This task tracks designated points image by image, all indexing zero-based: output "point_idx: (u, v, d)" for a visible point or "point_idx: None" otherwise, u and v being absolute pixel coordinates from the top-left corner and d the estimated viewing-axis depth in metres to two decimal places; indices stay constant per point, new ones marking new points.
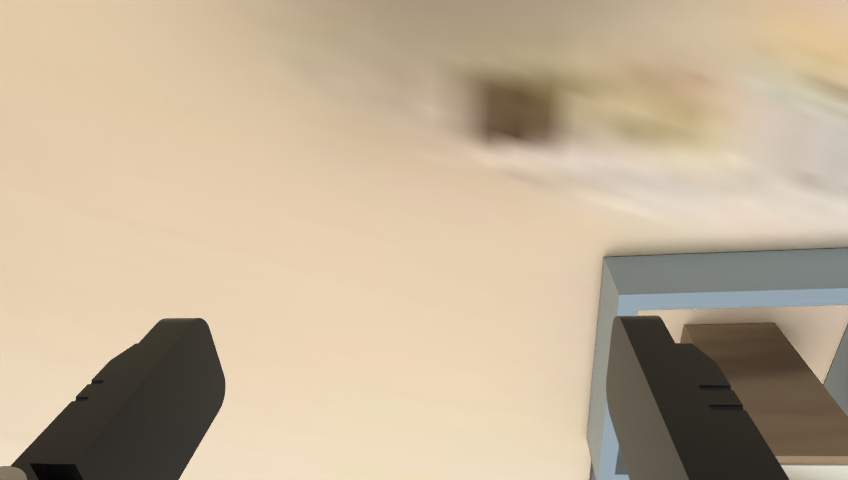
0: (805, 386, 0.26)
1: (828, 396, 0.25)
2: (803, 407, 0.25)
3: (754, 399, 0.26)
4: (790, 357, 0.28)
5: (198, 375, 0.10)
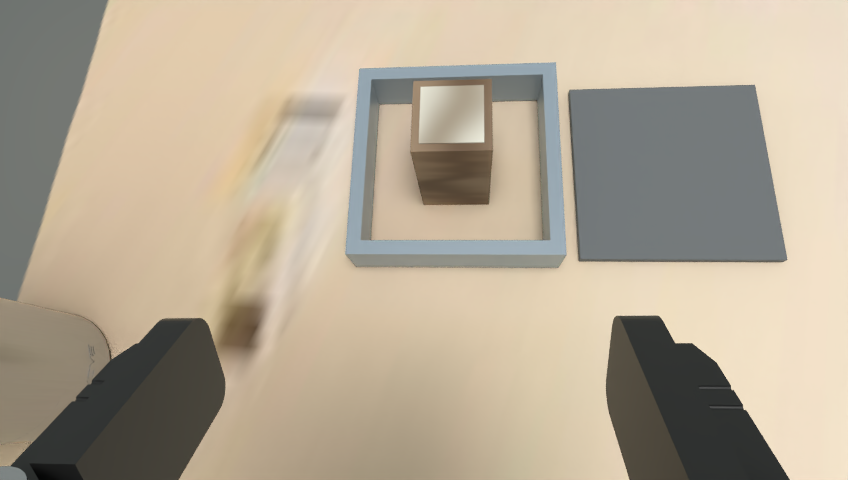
0: None
1: None
2: None
3: None
4: None
5: (198, 374, 0.10)
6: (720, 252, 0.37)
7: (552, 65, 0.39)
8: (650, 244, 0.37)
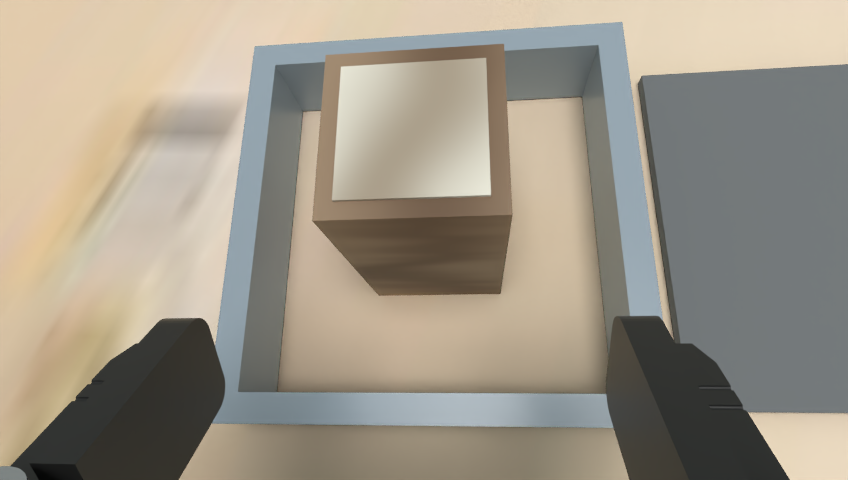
0: None
1: None
2: None
3: None
4: None
5: (198, 375, 0.10)
6: None
7: (617, 28, 0.20)
8: (832, 378, 0.18)
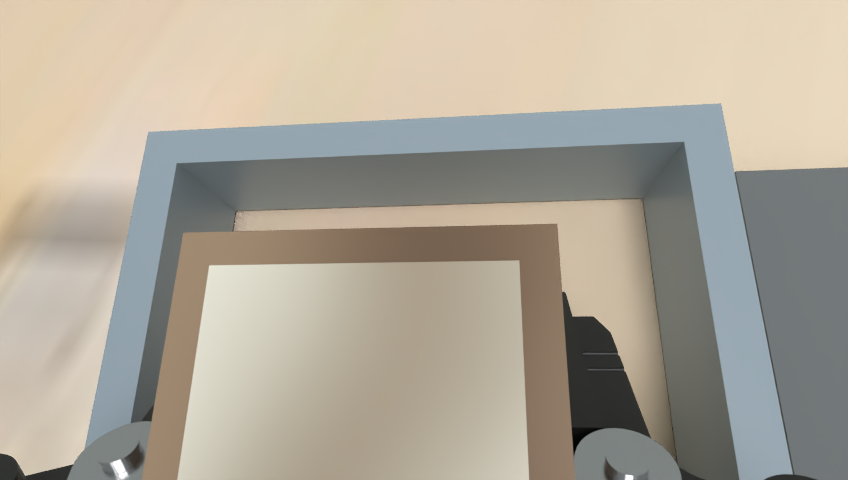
0: None
1: None
2: None
3: None
4: None
5: None
6: None
7: (712, 114, 0.13)
8: None
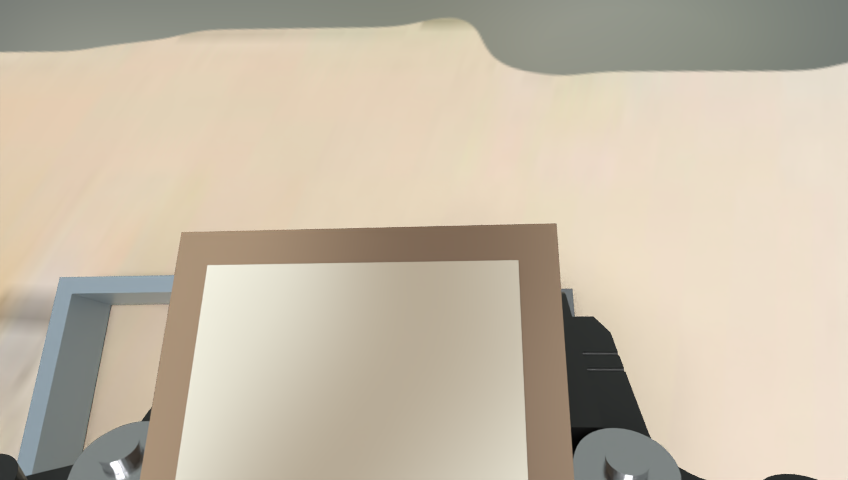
0: None
1: None
2: None
3: None
4: None
5: None
6: None
7: None
8: None
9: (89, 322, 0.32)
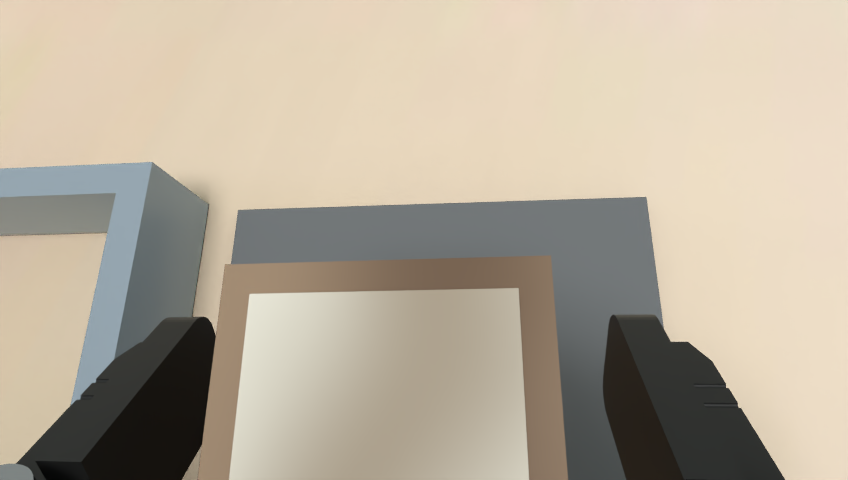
0: None
1: None
2: None
3: None
4: None
5: (202, 373, 0.10)
6: None
7: (143, 170, 0.16)
8: None
9: None
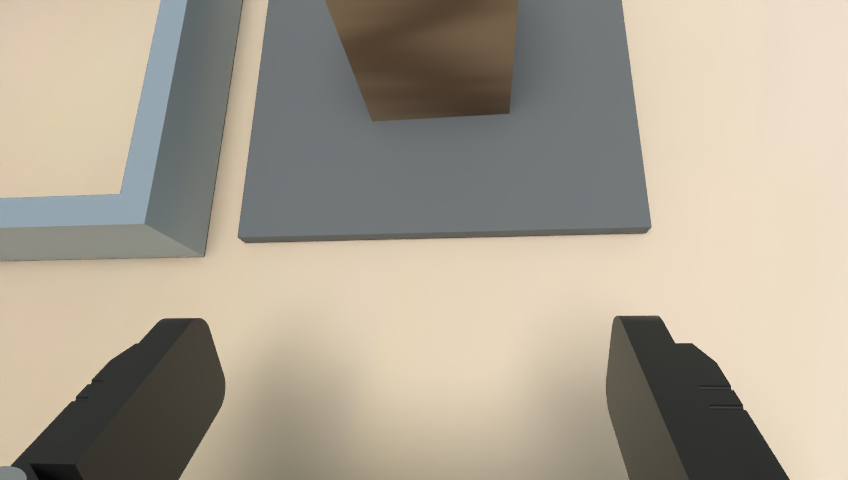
0: None
1: None
2: None
3: None
4: None
5: (198, 375, 0.10)
6: (513, 216, 0.17)
7: None
8: (376, 203, 0.18)
9: None
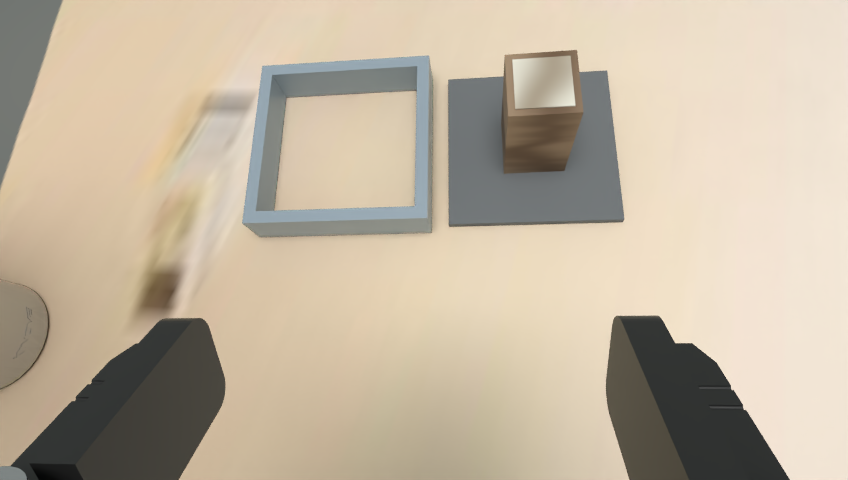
0: (503, 98, 0.41)
1: (503, 85, 0.40)
2: (504, 96, 0.39)
3: (505, 123, 0.39)
4: (502, 108, 0.43)
5: (198, 374, 0.10)
6: (567, 214, 0.42)
7: (426, 58, 0.45)
8: (508, 209, 0.43)
9: (278, 100, 0.48)
